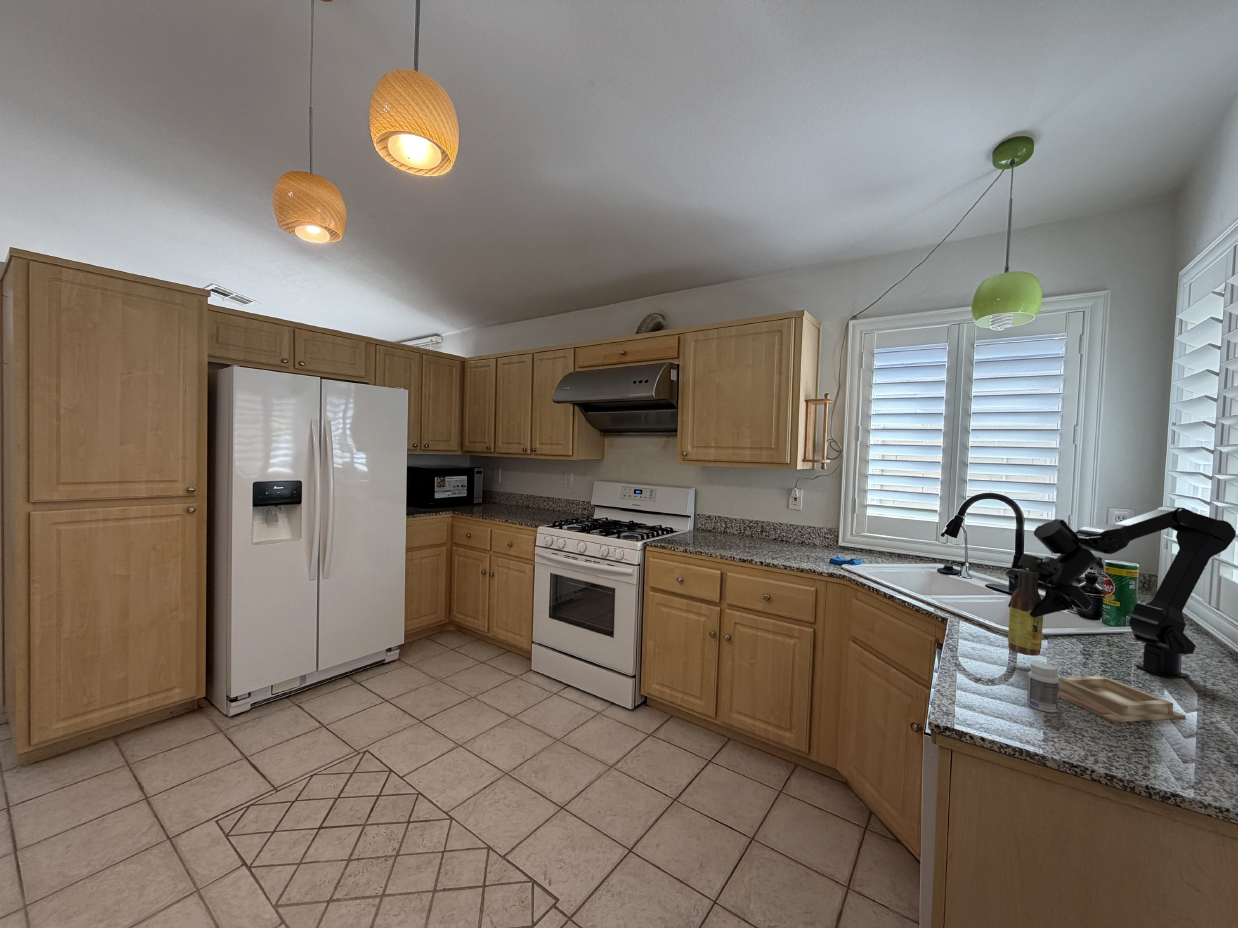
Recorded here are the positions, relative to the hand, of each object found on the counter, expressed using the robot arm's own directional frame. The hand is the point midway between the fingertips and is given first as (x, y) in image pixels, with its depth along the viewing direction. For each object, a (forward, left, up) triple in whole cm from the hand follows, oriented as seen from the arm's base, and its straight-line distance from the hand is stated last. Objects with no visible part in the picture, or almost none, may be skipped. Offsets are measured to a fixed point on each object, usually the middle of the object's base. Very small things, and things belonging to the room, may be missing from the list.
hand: (1020, 611), depth 117 cm
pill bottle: (+15, +18, -13) cm, 27 cm away
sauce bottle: (-1, 0, -10) cm, 10 cm away
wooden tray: (-3, +18, -13) cm, 22 cm away
